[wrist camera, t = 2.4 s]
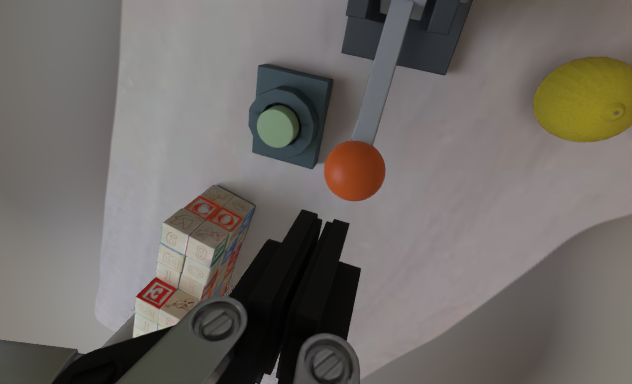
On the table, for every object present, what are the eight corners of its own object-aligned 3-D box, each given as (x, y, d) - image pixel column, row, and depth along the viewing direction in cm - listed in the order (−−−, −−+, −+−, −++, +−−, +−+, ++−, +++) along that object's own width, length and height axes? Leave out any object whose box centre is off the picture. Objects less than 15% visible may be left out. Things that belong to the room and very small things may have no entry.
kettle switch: (374, 205, 17) (376, 212, 14) (321, 190, 18) (312, 193, 15) (443, -27, 16) (462, -76, 13) (385, -37, 17) (389, -86, 14)
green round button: (266, 101, 28) (258, 105, 27) (302, 110, 28) (296, 114, 26) (262, 137, 30) (255, 142, 29) (296, 146, 30) (290, 152, 28)
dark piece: (265, 63, 30) (249, 67, 27) (333, 79, 29) (323, 84, 26) (258, 147, 35) (244, 158, 32) (317, 163, 33) (307, 176, 30)
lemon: (620, 60, 23) (709, 74, 16) (576, 131, 26) (635, 168, 19) (542, 46, 24) (594, 52, 17) (507, 115, 26) (540, 145, 20)
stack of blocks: (213, 182, 39) (139, 239, 28) (257, 204, 38) (198, 270, 28) (188, 283, 50) (128, 351, 39) (221, 301, 50) (170, 374, 39)
